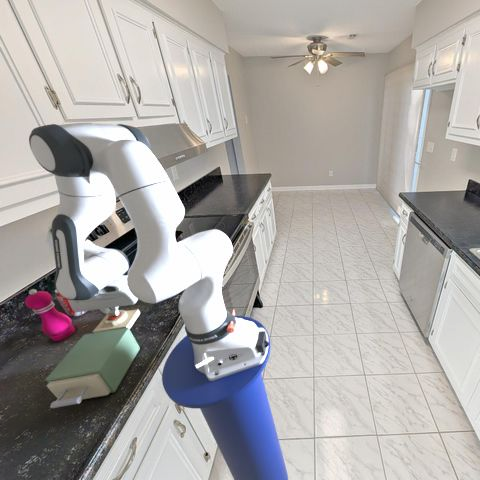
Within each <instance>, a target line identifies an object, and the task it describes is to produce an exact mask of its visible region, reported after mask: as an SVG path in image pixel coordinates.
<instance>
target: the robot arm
mask: <svg viewBox="0 0 480 480" xmlns="http://www.w3.org/2000/svg"><path fill="white" fill-rule="evenodd" d="M28 143H29V148H30V151H31V152H32V155H33V157H34V158H35V160H36V161H37V163H38V164H39V165H40V166H41V167H42V168H43V170H45V171H46V172H48V173H50V174H52V175H54V179H55V183H56V184H55V185H56V188H57V190H58V195H59V203H58V204H59V205H58V210H57V213H56V215H55V216H54V218H53V219H52V220H51V221H52V222H51V239H52V246H53V247H52V248H53V254H54V263H55V277H54V287H55V290H57V291H58V293H59V294H60V295H61V296H62V297H64V298H66V299H68V301H69V304H70V306H71V308H72V310H73V311H75V312H84V311H87V312H90V311H96V310H99V311H100V313H103V314H105V315H107V316H108V317H113V316H118V315H119V311H118V310H119V308H120V307H126V306H127V307H128V306H133V305H135V304H136V303H138V301H141V302H144V303H146V304H147V303H148V304H157V303H160V302H163V301H165V300H168V299H171V298H172V297H174V296H177V295H178V294H179V293H181V292H183V293H182V294H181V296H180V298H179V300H178V312H179V315H180V316H181V317H180V318H181V319H182V322H183V324H184V330H185V333H186V336H188V339H189V340H190V341H191V342H192V346H193V350H194V364H195V367H196V369H197V370H198V371H200V372H201V373H204V374H205V375H206V377H207V378H208V380H209V381H214V380H217V379H220V378H223V377H226V376H228V375H231V374H234V373H237V372H240V371H243V370H246V369H249V368H252V367H255V366H258V365H260V364H262V363H263V361H264V360H265V358H266V355H267V352H268V345H269V342H268V335H267V333H266V331H265V329H266V328H265V329H264V328H257V326H256V324H255V323H253V322H252V321H247V320H243V319H242V318H236V317H235V316H236V312H235V311H236V310H235V309H233V310H232V313H231V312H230V311H229V310H228V309H227V308H226V306H225V302H224V301H225V300H224V298H223V292H222V287H223V280H224V274H225V270H226V267H227V265H228V263H229V261H230V259H231V258H232V256H233V252H234V251H233V250H234V248H233V244H232V241H231V239H230V238H229V236H228V235H227V234H226V233H224V232H223V231H221V229H217V228H212V229H208V230H204V231H199V232H196V233H194V234H192V235H190V236H188V237H186V238H184V239H182V240H179V241H178V242H177V239H176V230H177V228H178V227H179V226H180V224H181V222H182V221H183V220H184V218H185V214H186V209H185V206H184V204H183V203H182V200H181V199H180V196H179V195H178V193H177V191H176V189H175V187H174V185H173V184H172V181H171V179H170V178H169V176H168V174H167V172H166V171H165V169H164V167H163V166H162V164H161V163H160V162H159V160H158V159H157V157H156V156H155V155H154V153H153V152H152V147H151V144H150V141H149V139H148V138H147V136H146V135H145V133H144V132H143V131H141V129H140V128H137V127H135V126H133V125H128V124H122V123H117V124H111V123H93V122H75V123H63V124H57V123H51V124H45V125H40V126H38V127H34V128H33V129H32V130H31V131H30V134H29V137H28ZM116 197H117V198H118V199H119V201H120V202H121V205H122V206H123V208H124V209H125V211H126V214H127V215H128V217H129V219H130V221H131V223H132V225H133V228H134V231H135V235H136V241H137V243H136V244H137V246H136V252H135V256H134V260H133V261H132V264H131V265H130V260H129V258H128V256H127V254H126V253H125V252H124V251H122V250H120V249H117V248H111V247H110V248H109V247H108V248H106V247H102V246H99V245H97V244H95V243H93V241H91V240H90V239H87V238H88V236H89V235H90V234H91V233H92V232H93V231H94V230H95V229H96V228H97V227H98V226H99V225H101V224H102V223H103V222H105V221H106V220H108V218H109V217H110V216H111V215H113V213H114V212H115V209H116V204H117V198H116ZM126 273H127V274H126ZM217 374H218V375H217Z"/></svg>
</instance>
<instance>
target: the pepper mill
mask: <svg viewBox="0 0 480 480" xmlns="http://www.w3.org/2000/svg"><path fill="white" fill-rule="evenodd" d="M28 294H29V295H27V297H26V298H25V300H24V305H25V307H27V308H29V309H31V310H32V311H33V312H34V314H37V315H39V317H40V318H41V331H42V332H43V334H44V335H47V336H49V338H50V340H51V341H52V342H59V341H63V340H65V339H67V338H69V337H70V336H72V334H74V333H75V332H76V328H75V326H74V325H73V324H72V318H70V316H69V315H67V314H65V313H62V312H60V311H59V310H57V308H55V305H56V304H55V303H54V301H53V300H52V299H53V296H52V295H51V294H50V293H49V292H48V291H43V290H39V291H37V289H35V288H33V289H29V291H28Z"/></svg>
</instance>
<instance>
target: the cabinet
mask: <svg viewBox="0 0 480 480" xmlns="http://www.w3.org/2000/svg"><path fill="white" fill-rule="evenodd" d="M140 349H141V348H140V345H139V344H138V342H137V340H136V338H135V336H134V335H133V333H132V330H131V328H130V329H129V328H124V329H117V330H111V331H104V332H97V333H93V332H91V333H84V334H83V335H82V336H81V337H80V338H79V340H78V341H77V342H76V343H75V344H74V346H72V348H71V349H70V350H69V351H68V353H67V354H66V355H65V356H64V357H63V359H61V360H60V362H59V363H58V364H57V365H56V366H55V367H54V369H53V370H52V371H51V372H50V373H49V375H47V377H46V378H45V381H46V382H47V384H48V383H49V382H50V381H56V380H61V379H66V378H72V377H78V376H84V375H90V374H95V373H98V374H99V375H100V376H101V378H102V379H103V380H104V382H105V383H106V385H107V386H108V387H109V389H110V390H111V391H110V393H109V394H113V393H115V392H116V391H117V389H118V387H119V386H120V384H121V382H122V381H123V379H124V377H125V375H126V373H127V372H128V371H129V369H130V367H131V365H132V363H133V362H134V359H135V358H136V357H137V354H138V353H139V351H140Z"/></svg>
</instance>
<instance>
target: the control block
mask: <svg viewBox="0 0 480 480" xmlns="http://www.w3.org/2000/svg"><path fill="white" fill-rule="evenodd" d="M118 311H119V313H120V314H121V315H120V317H118V318H117V319H114V320H110V321H109V319H108V316H107V314H105V316H104V318H102V320H101V321H100V322H99V323H98V325H97V326H96V327H95V328H94V330H93V331H92V333H97V332H104V331H111V330H117V329H124V328H129V329H130V330H131V329H132V328H133V325H134V324H135V322H136V321H137V319H138V318H139V317H140V315H141V311H140V310H139V308H137V309H130V310H125V309H118Z"/></svg>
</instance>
